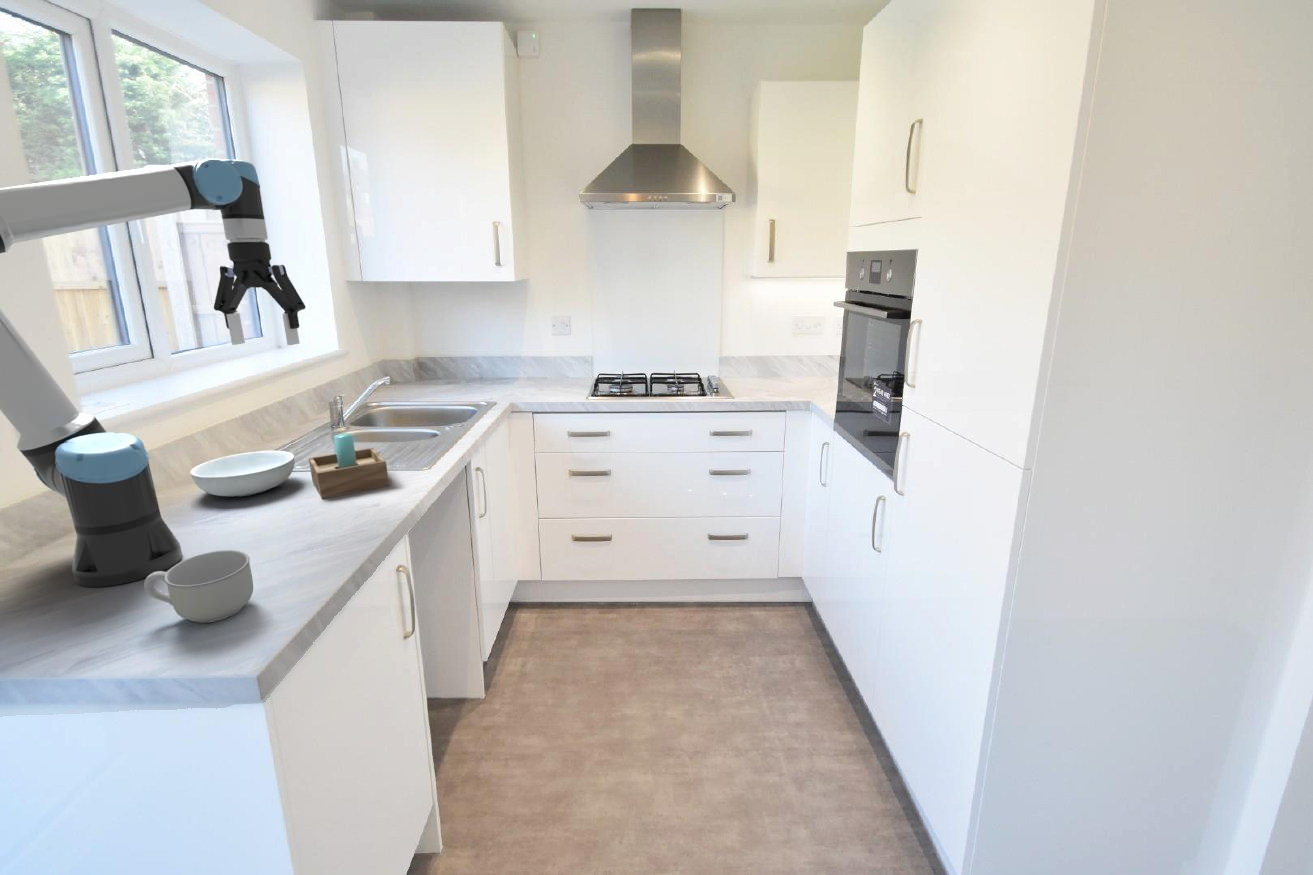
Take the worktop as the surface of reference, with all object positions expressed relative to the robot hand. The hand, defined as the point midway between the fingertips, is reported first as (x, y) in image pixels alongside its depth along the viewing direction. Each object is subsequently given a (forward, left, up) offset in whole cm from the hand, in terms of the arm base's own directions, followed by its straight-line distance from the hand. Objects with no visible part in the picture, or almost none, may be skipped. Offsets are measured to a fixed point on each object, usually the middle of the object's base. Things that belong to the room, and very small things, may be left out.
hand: (265, 344), depth 141 cm
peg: (+1, -13, -35) cm, 37 cm away
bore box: (+1, -13, -35) cm, 37 cm away
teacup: (-51, +17, -35) cm, 64 cm away
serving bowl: (+11, +8, -35) cm, 38 cm away
